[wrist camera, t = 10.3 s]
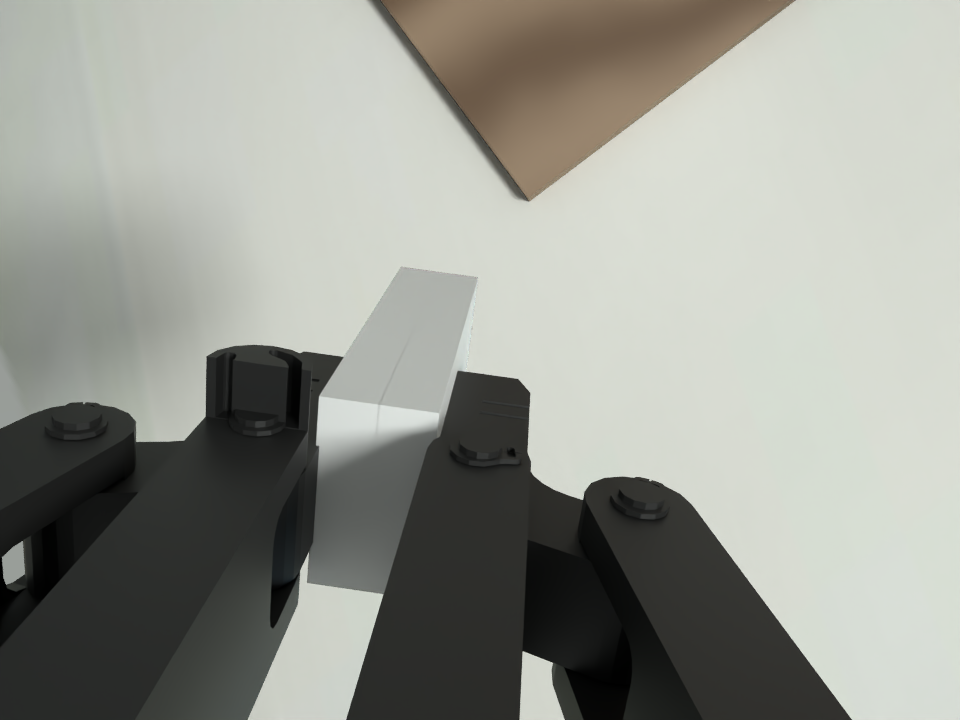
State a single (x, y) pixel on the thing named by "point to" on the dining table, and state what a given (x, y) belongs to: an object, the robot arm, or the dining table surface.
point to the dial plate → (568, 67)
